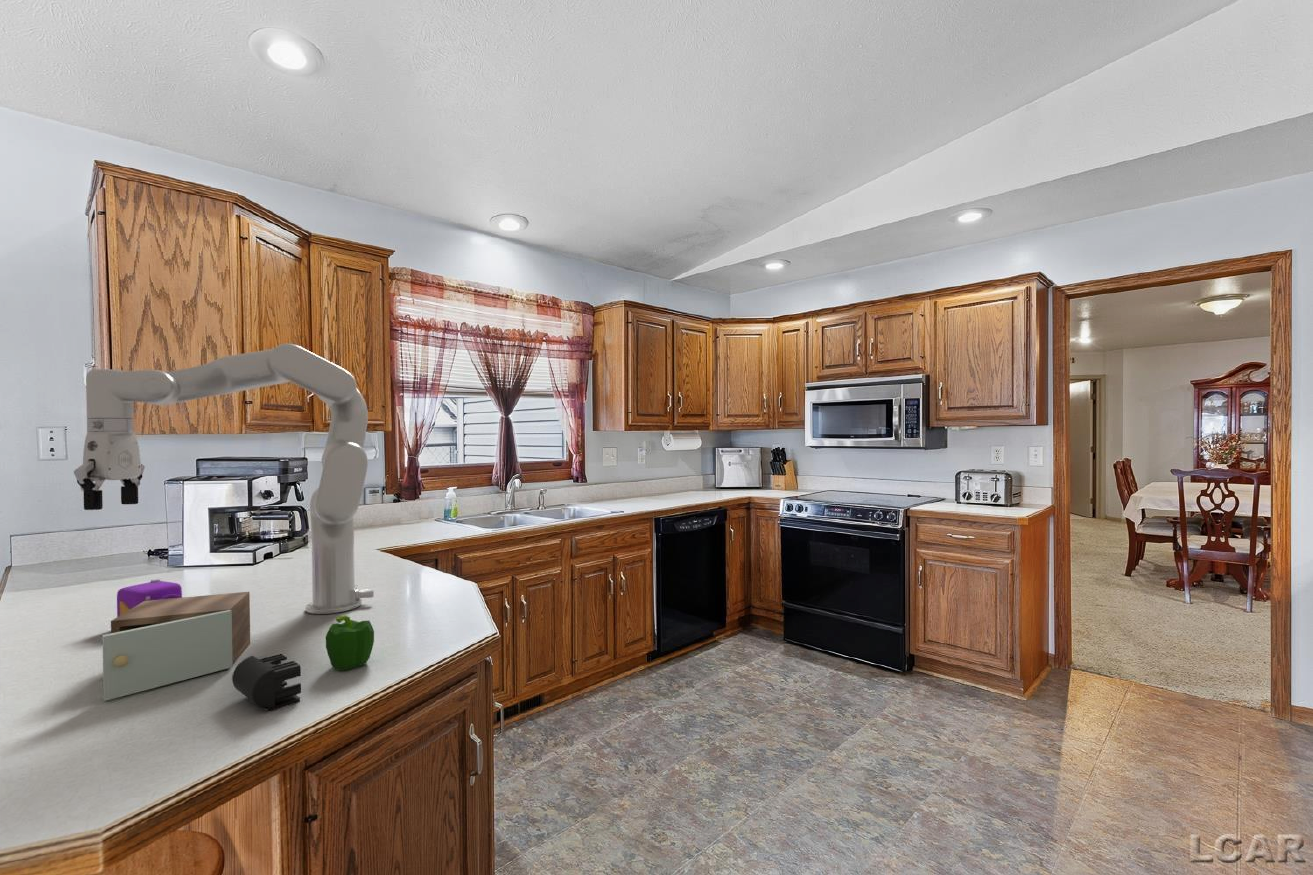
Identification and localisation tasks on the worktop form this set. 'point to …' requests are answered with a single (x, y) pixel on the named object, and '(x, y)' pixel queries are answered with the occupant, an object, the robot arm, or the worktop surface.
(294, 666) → the end cap
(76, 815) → the worktop surface
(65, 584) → the worktop surface
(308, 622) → the worktop surface
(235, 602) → the cabinet
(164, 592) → the toy camera
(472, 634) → the worktop surface
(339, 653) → the bell pepper
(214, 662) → the door
